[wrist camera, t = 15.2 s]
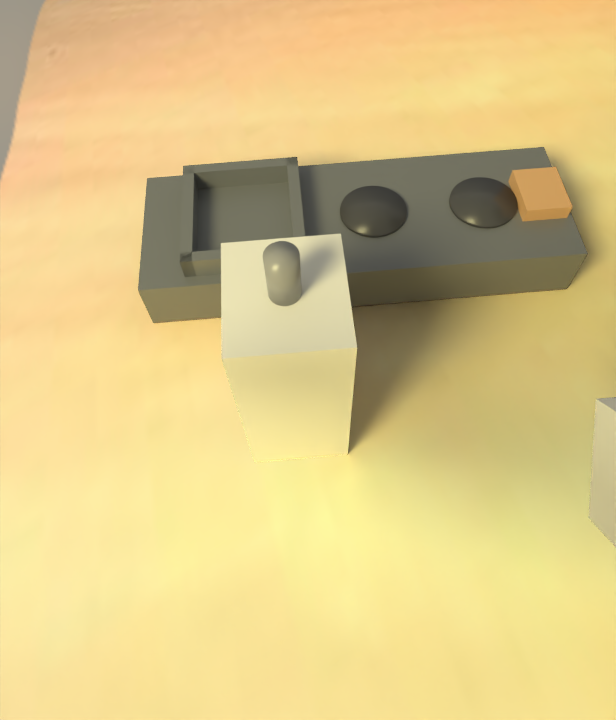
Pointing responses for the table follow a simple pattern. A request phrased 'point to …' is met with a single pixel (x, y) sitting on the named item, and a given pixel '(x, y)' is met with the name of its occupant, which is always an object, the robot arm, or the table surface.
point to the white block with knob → (289, 344)
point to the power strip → (366, 226)
